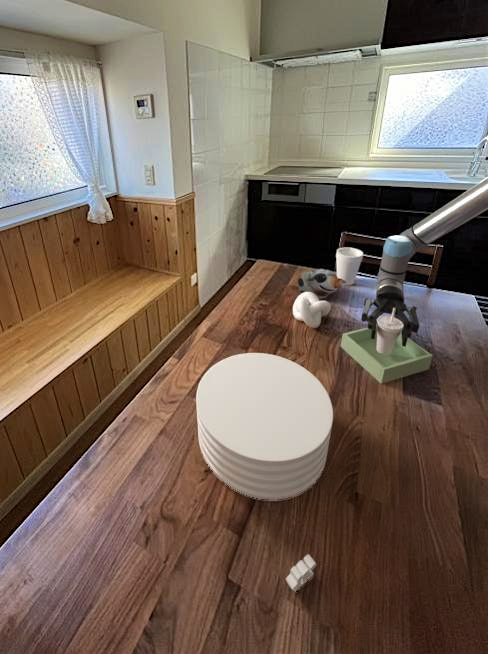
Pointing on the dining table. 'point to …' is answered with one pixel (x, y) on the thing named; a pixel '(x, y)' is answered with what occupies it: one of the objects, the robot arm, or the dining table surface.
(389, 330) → the smoothie
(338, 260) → the foam cup
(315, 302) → the white puffy blob
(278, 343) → the dining table surface
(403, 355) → the bin
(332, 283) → the grey animal head
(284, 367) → the plate stack
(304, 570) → the white stepped block
